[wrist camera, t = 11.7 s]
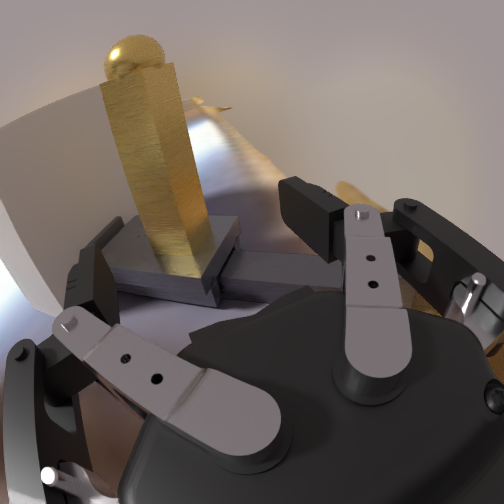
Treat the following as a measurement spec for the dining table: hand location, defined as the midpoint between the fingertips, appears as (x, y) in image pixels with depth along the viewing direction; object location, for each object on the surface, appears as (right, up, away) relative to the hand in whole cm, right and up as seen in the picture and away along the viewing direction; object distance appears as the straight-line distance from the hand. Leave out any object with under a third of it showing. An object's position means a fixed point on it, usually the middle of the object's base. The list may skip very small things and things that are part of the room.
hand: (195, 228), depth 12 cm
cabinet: (-13, -2, +15) cm, 20 cm away
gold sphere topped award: (-4, -3, +12) cm, 12 cm away
